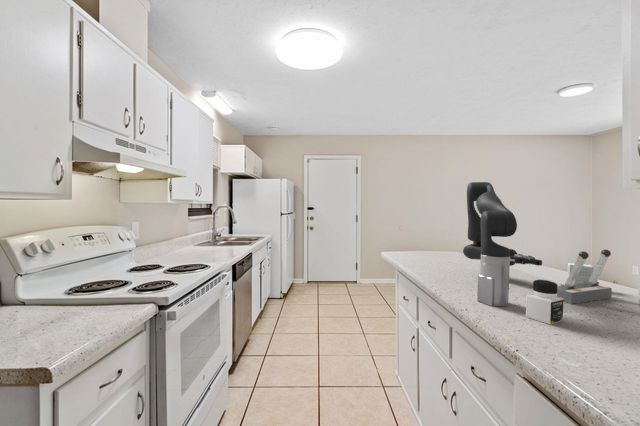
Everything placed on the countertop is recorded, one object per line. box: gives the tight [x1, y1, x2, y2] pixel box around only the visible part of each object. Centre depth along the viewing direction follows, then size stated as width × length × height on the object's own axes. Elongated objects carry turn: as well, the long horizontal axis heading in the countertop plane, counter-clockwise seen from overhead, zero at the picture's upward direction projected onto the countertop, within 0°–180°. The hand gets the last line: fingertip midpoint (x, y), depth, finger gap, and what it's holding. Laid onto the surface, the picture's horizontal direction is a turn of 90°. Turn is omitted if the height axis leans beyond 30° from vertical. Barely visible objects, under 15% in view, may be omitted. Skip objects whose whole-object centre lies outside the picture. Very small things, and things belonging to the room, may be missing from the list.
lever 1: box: [564, 250, 590, 289], centre depth 113 cm, size 3×3×16 cm
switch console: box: [556, 281, 613, 305], centre depth 117 cm, size 24×8×6 cm, turn 110°
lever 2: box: [588, 249, 612, 286], centre depth 118 cm, size 3×3×16 cm
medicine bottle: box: [525, 279, 564, 326], centre depth 94 cm, size 7×7×12 cm
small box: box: [566, 262, 595, 284], centre depth 131 cm, size 8×6×10 cm
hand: (540, 263), depth 125 cm, fingers closed
